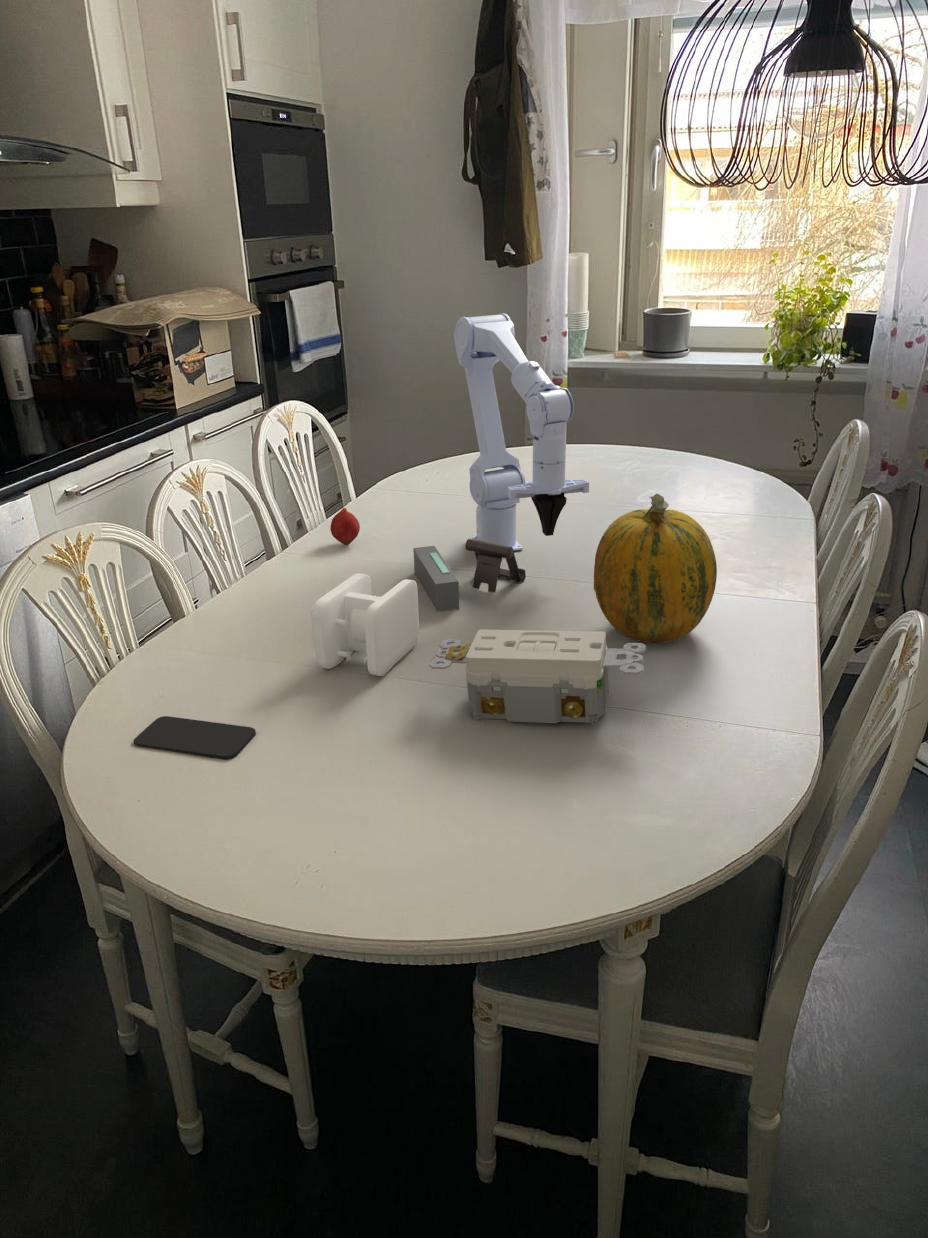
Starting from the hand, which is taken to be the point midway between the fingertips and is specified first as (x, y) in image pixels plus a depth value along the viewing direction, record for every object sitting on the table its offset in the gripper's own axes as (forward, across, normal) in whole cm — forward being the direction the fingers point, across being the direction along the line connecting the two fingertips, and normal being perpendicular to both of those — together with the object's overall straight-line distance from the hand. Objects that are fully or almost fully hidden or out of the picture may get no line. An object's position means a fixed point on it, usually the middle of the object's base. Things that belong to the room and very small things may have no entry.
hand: (547, 533), depth 170 cm
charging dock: (+8, -21, 0) cm, 23 cm away
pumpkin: (+9, +8, -27) cm, 29 cm away
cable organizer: (+9, -37, -23) cm, 44 cm away
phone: (+9, -63, -39) cm, 75 cm away
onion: (+8, -33, +28) cm, 44 cm away
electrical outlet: (+9, -17, -44) cm, 48 cm away
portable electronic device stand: (+9, -10, 0) cm, 13 cm away
